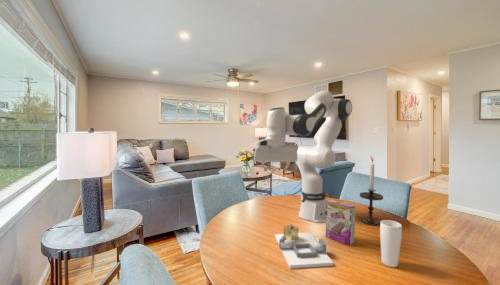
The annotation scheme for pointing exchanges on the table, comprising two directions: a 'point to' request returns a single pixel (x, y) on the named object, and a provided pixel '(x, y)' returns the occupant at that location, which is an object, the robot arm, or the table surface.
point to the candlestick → (371, 199)
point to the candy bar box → (340, 222)
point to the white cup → (390, 242)
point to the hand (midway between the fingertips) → (275, 171)
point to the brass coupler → (291, 232)
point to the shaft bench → (303, 251)
